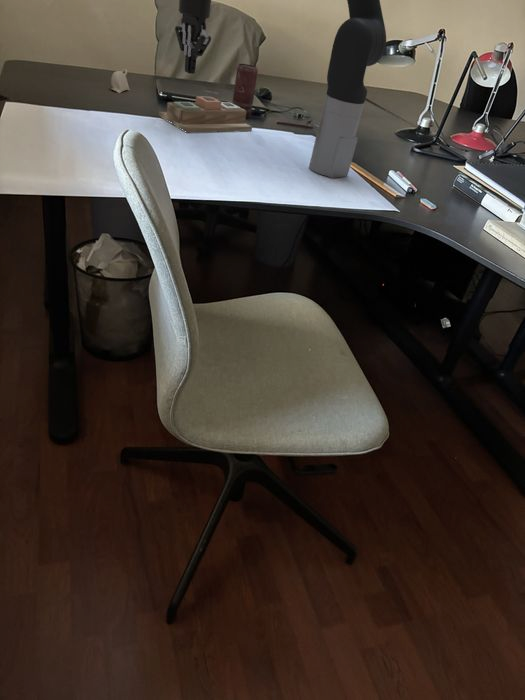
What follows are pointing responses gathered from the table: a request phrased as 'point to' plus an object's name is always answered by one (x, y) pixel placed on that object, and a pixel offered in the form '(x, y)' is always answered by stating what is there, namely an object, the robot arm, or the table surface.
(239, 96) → the can
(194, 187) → the table surface
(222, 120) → the keypad board
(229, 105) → the cream key
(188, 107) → the sage key
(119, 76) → the decorative ornament
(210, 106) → the terracotta key
